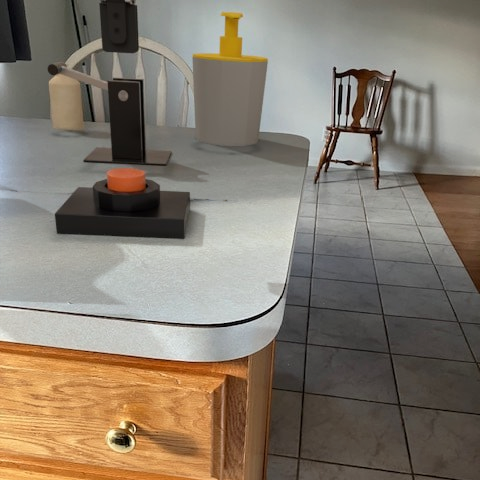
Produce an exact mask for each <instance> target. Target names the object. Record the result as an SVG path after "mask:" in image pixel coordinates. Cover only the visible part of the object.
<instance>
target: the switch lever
mask: <svg viewBox="0 0 480 480" xmlns="http://www.w3.org/2000/svg"><path fill="white" fill-rule="evenodd" d="M47 72H48V74H49V75H51V76H55V75H57V74H62V75H65V76H68V77H70V78H73V79H76V80H78V81H79V82H82V83H85V84H87V85H90V86H93V87H96V88H99V89H100V90H101V89H102V90H103V91H107V92H108V82H107V81H106V80H103V79H100V78H98V77H95V76H92V75H89V74H87V73H84V72H81V71H79V70H76V69H73V68H71V67H68V65H67V63H65V62H64V61H57V62H53V63H49V64H48V66H47Z"/></svg>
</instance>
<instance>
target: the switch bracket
mask: <svg viewBox="0 0 480 480" xmlns="http://www.w3.org/2000/svg"><path fill="white" fill-rule="evenodd" d="M106 82H108V91H107V97H108V112H109V114H108V115H109V130H110V146H111V147H95V148H94V149H93V150H92V151H91V152H90V153H89V154H87V156H86V157H84V159H83V161H82V162H83V163H89V164H90V163H93V164H113V165H132V166H135V165H136V166H153V167H156V166H157V167H166V166H167V165H168V162H169V161H170V158H171V155H172V150H160V149H159V150H158V149H147V139H146V138H147V137H146V107H145V106H146V105H145V79H144V78H131V77H112V79H109V80H107V81H106Z"/></svg>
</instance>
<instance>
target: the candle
mask: <svg viewBox="0 0 480 480" xmlns="http://www.w3.org/2000/svg"><path fill="white" fill-rule="evenodd" d="M48 91H49V99H50V108H51V118H52V126H53V129H54V130H69V131H71V130H73V131H85V127H84V126H85V124H84V113H83V99H82V90H81V81H79V80H76V79H73V78H70V77H68V76H65V75H62V74H57V75H53V77H52V78H51V79H49V81H48Z"/></svg>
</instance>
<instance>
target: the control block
mask: <svg viewBox="0 0 480 480" xmlns="http://www.w3.org/2000/svg"><path fill="white" fill-rule="evenodd" d="M145 181H146V189H143V190H140V191H131V192H125V191H114V190H110V189H108V184H107V178H104V179H101V180H98V181H95V182H94V184H93V185H92V187H88V186H87V187H85V186H78V187H76V189H75V190H74V191H73V193H72V194H71V195H70V196H69V197H68V198H67V199H66V200H65V201H64V203H62V205H61V206H60V207H59V208H58V209H57V210H56V211H55V213H54V220H55V229H56V234H57V235H71V236H73V235H74V236H95V237H96V236H97V237H101V236H102V237H121V238H122V237H123V238H144V239H145V238H146V239H169V240H170V239H172V240H185V238H186V237H185V236H186V231H187V227H188V222H189V216H190V212H191V192H190V191H177V190H176V191H175V190H161V185H160V184H159V183H158V182H156V181H155V180H152V179H148V178H145Z"/></svg>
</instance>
